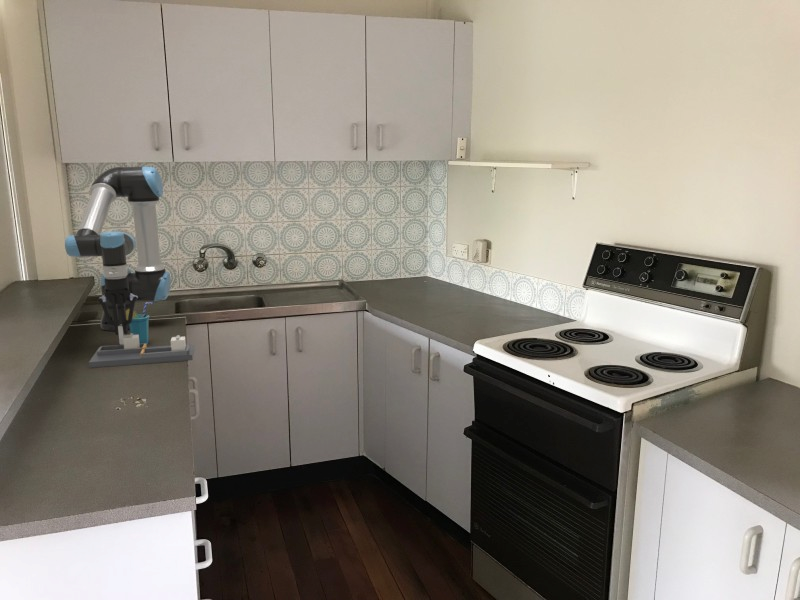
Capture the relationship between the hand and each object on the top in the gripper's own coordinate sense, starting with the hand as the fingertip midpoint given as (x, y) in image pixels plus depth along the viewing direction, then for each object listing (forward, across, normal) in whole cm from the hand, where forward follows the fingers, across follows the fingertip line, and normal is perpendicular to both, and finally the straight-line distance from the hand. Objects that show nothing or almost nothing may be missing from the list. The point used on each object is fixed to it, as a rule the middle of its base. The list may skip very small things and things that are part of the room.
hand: (122, 343), depth 235 cm
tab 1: (+3, +3, 0) cm, 4 cm away
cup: (+5, +4, +16) cm, 18 cm away
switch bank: (+5, +7, -4) cm, 9 cm away
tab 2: (+3, +19, -7) cm, 21 cm away
